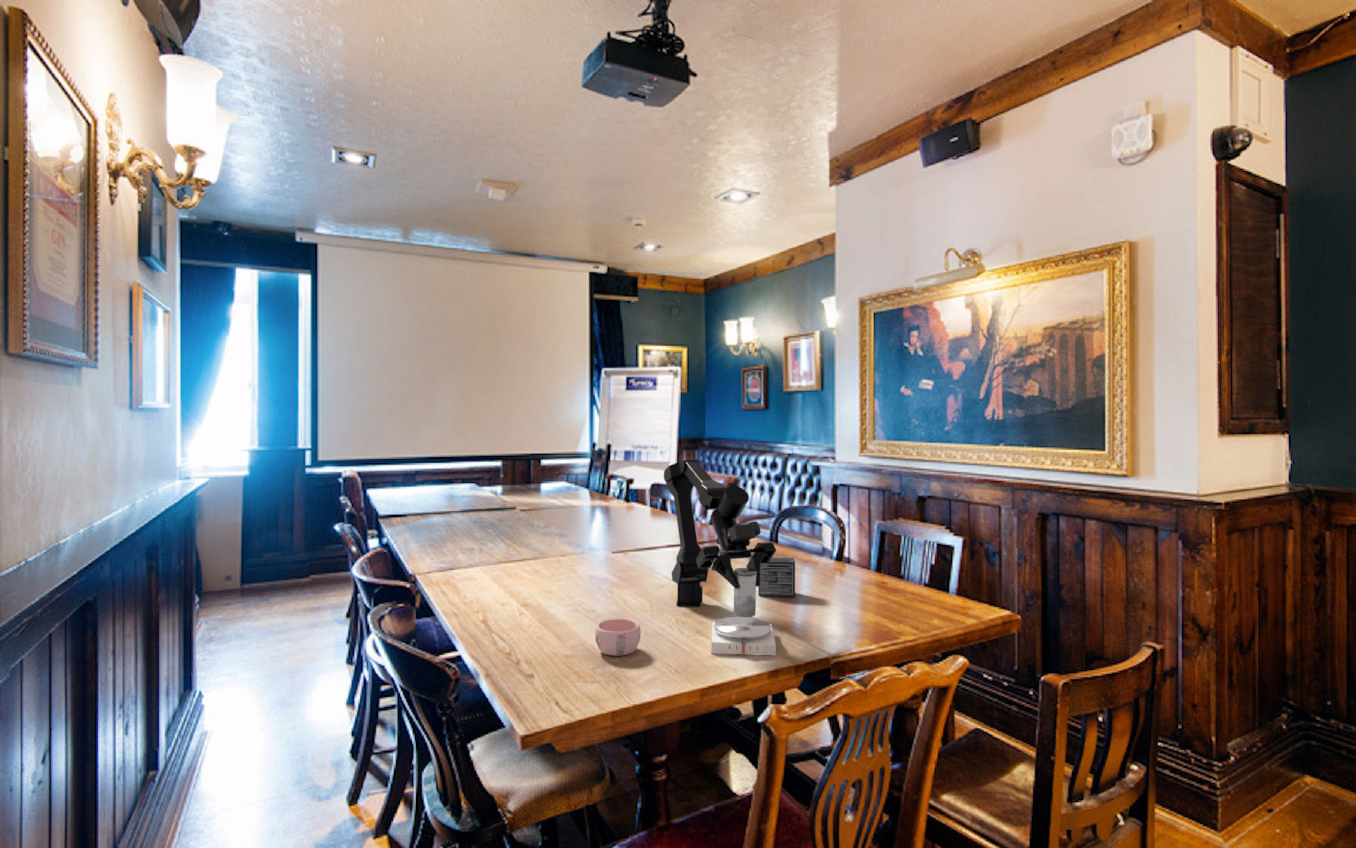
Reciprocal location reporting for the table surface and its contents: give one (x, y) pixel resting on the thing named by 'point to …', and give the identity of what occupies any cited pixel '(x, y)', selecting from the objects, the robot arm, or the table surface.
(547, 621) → the table surface
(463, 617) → the table surface
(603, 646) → the mug
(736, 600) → the steel weight
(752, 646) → the base
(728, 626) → the scale pan
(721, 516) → the robot arm
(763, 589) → the small box
